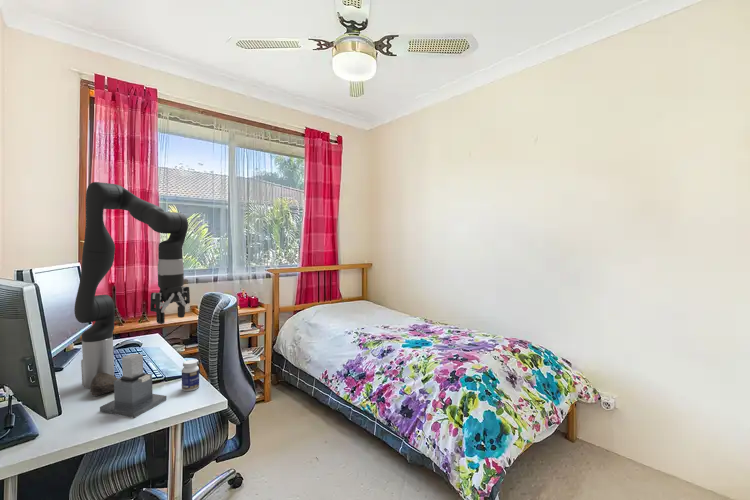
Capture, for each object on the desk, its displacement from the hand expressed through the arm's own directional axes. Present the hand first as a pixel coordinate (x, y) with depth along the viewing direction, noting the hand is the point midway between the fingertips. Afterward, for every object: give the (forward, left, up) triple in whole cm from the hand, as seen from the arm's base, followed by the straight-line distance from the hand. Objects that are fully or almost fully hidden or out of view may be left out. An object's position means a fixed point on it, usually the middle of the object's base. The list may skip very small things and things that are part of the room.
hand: (171, 320), depth 122 cm
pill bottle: (-2, +10, -28) cm, 30 cm away
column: (-10, -6, -26) cm, 28 cm away
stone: (-29, -1, -28) cm, 40 cm away
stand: (-10, -6, -28) cm, 30 cm away
